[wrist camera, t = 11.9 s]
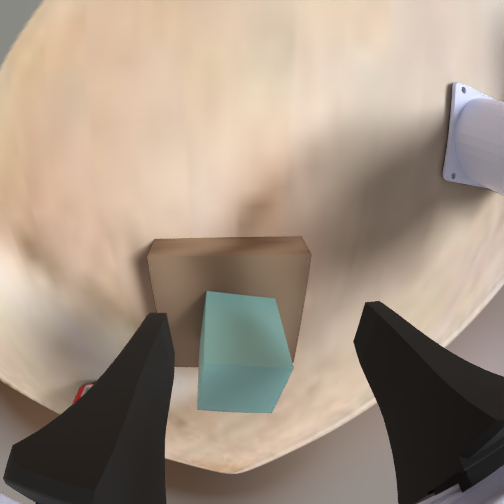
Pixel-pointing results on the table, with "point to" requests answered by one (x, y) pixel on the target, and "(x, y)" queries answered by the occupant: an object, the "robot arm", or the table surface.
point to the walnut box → (226, 282)
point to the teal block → (241, 354)
